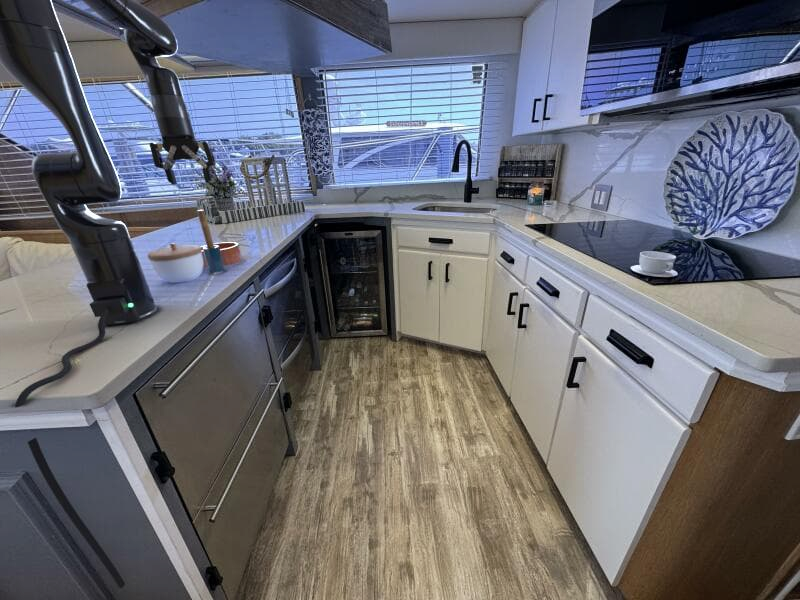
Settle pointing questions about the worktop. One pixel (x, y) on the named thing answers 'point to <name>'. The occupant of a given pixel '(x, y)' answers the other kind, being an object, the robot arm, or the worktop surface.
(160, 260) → the lidded bowl
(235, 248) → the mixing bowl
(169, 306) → the worktop surface
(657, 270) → the teacup
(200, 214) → the stirring stick
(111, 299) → the robot arm
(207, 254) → the utensil pot
